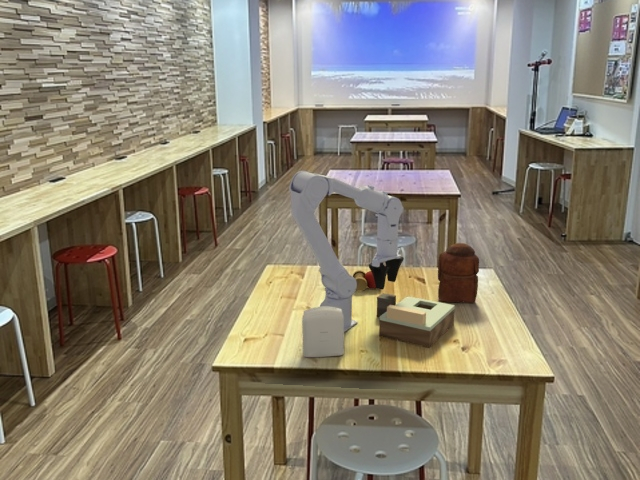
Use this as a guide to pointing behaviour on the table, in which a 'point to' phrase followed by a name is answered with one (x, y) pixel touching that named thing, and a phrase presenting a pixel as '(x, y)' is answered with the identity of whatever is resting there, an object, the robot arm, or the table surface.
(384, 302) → the dark brown block
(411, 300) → the lid
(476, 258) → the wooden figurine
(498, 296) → the table surface
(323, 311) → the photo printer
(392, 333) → the brown wooden box
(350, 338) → the table surface
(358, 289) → the kendama
